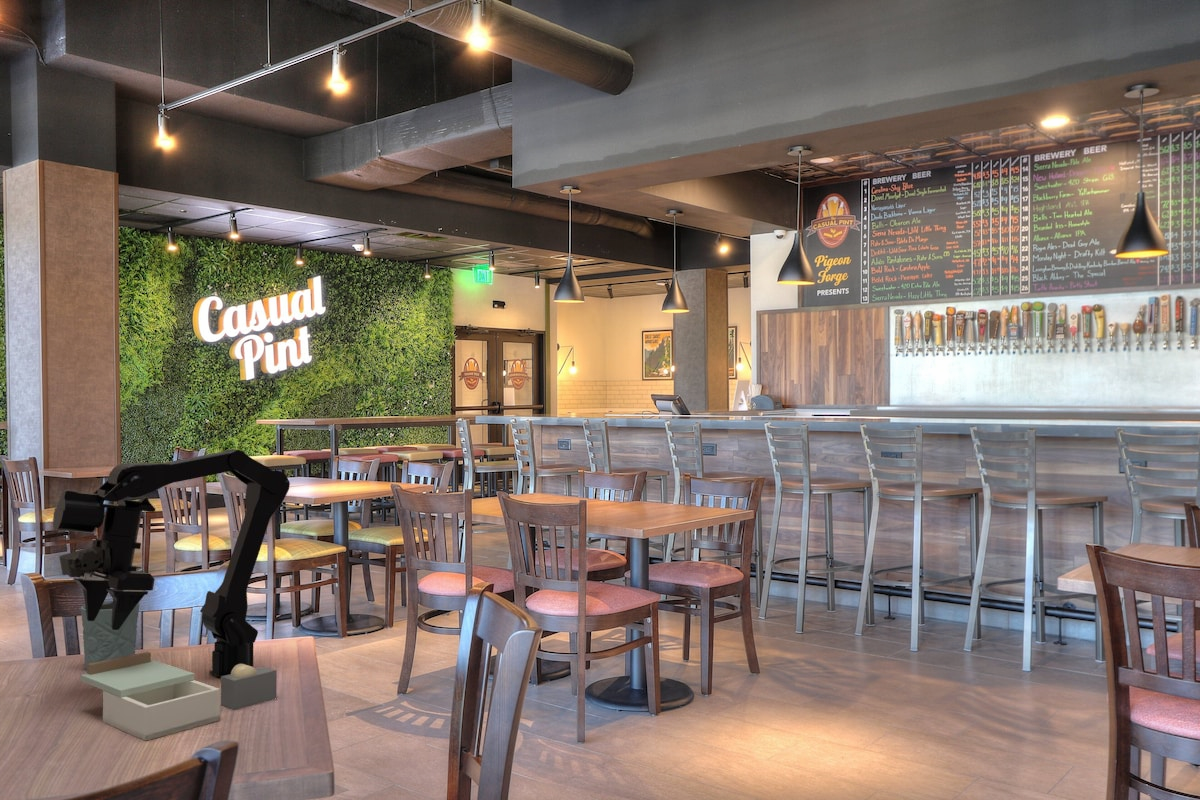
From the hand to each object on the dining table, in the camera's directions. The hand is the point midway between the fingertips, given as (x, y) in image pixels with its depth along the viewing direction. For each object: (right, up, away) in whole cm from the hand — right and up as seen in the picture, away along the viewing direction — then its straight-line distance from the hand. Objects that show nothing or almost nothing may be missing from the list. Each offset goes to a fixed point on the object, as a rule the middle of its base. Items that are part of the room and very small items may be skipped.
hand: (102, 625), depth 161 cm
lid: (+10, -8, -7) cm, 14 cm away
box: (+16, -13, -12) cm, 23 cm away
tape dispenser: (+26, -13, -2) cm, 29 cm away
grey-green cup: (-10, -13, +21) cm, 26 cm away
